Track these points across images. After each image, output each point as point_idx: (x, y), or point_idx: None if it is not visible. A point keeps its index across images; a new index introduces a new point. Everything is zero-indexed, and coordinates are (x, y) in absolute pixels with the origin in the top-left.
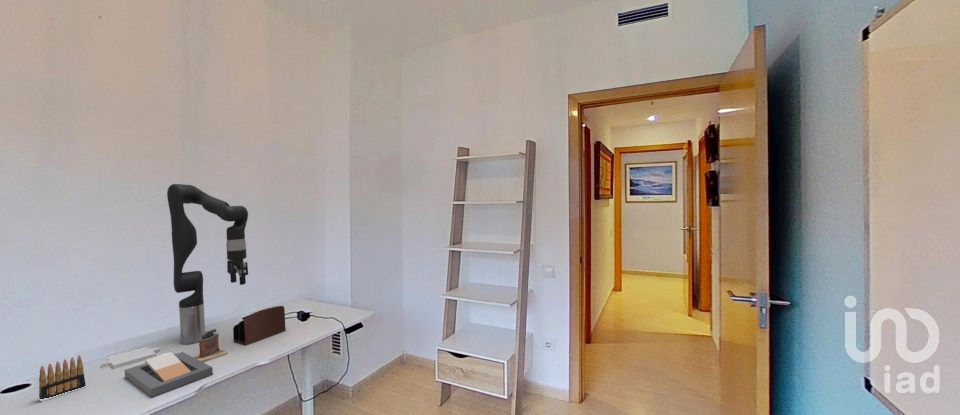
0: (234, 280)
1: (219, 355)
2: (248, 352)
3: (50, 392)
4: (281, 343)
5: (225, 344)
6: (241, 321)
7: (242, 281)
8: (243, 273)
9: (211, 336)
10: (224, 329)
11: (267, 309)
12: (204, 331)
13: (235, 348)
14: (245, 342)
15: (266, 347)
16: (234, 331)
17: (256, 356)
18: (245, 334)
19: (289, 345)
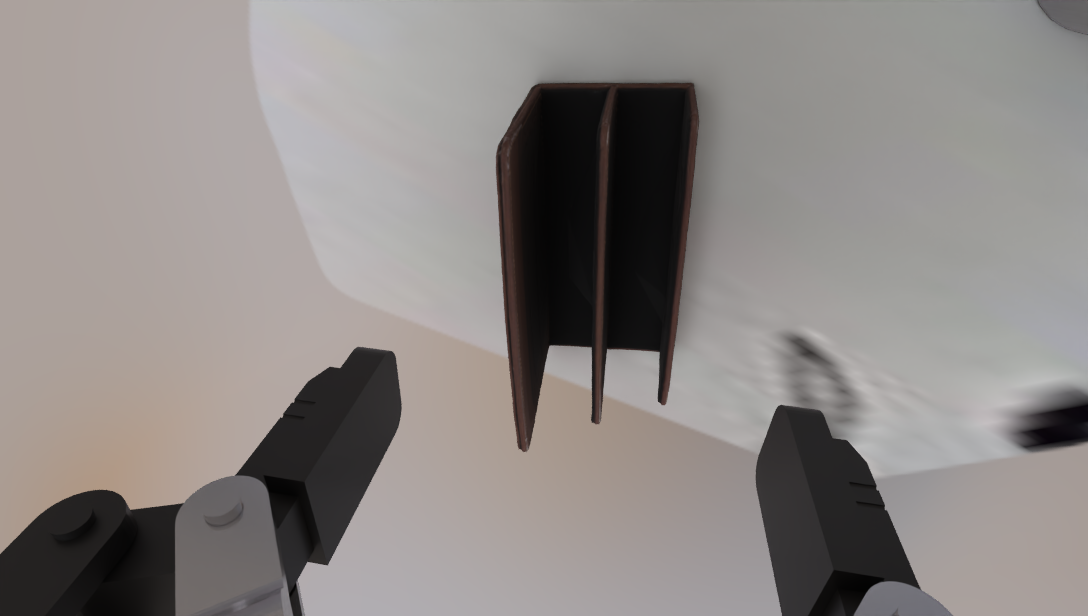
0: (772, 476)
1: None
2: (392, 18)
3: None
4: (366, 205)
5: (712, 25)
6: (598, 154)
7: (294, 404)
8: (17, 566)
9: None
10: (1051, 213)
11: (509, 353)
12: (1085, 15)
13: (552, 16)
14: (533, 89)
15: (378, 127)
16: (687, 108)
17: (277, 3)
18: (522, 106)
19: (296, 203)
